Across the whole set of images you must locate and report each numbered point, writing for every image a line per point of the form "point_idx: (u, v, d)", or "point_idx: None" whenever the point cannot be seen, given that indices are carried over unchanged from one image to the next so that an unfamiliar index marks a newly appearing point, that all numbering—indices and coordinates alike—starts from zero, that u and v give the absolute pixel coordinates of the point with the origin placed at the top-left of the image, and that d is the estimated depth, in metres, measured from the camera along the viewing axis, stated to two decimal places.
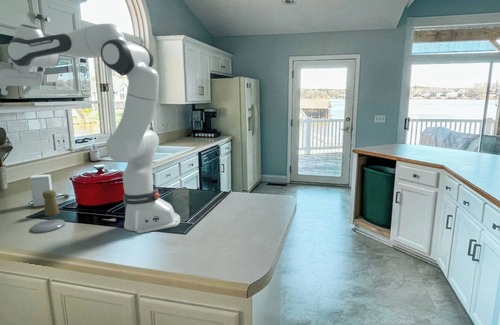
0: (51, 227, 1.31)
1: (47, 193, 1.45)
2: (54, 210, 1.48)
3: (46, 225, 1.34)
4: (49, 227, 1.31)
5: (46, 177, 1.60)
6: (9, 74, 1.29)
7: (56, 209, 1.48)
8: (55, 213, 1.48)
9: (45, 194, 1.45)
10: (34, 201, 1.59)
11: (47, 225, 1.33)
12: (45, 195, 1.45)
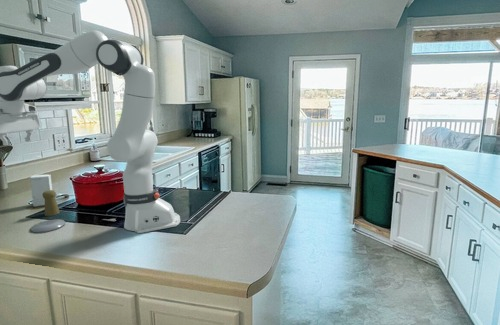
0: (51, 227, 1.31)
1: (47, 193, 1.45)
2: (54, 210, 1.48)
3: (46, 225, 1.34)
4: (49, 227, 1.31)
5: (46, 177, 1.60)
6: (3, 120, 1.23)
7: (56, 209, 1.48)
8: (55, 213, 1.48)
9: (45, 194, 1.45)
10: (34, 201, 1.59)
11: (47, 225, 1.33)
12: (45, 195, 1.45)
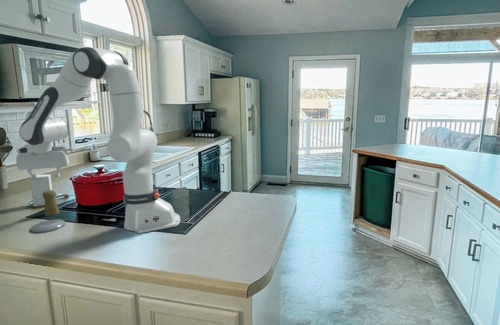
0: (51, 227, 1.31)
1: (47, 193, 1.45)
2: (54, 210, 1.48)
3: (46, 225, 1.34)
4: (49, 227, 1.31)
5: (46, 177, 1.60)
6: None
7: (56, 209, 1.48)
8: (55, 213, 1.48)
9: (45, 194, 1.45)
10: (34, 201, 1.59)
11: (47, 225, 1.33)
12: (45, 195, 1.45)
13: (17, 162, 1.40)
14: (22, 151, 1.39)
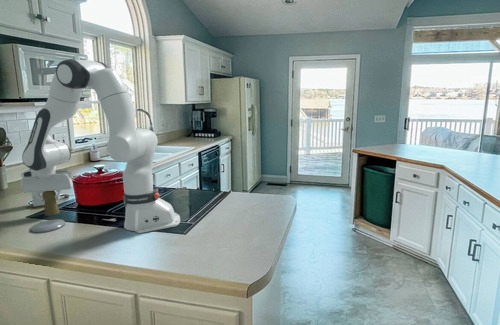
0: (51, 227, 1.31)
1: (47, 193, 1.45)
2: (54, 210, 1.48)
3: (46, 225, 1.34)
4: (49, 227, 1.31)
5: None
6: None
7: (56, 209, 1.48)
8: (55, 213, 1.48)
9: (45, 194, 1.45)
10: (34, 201, 1.59)
11: (47, 225, 1.33)
12: (45, 195, 1.45)
13: (21, 186, 1.42)
14: (26, 175, 1.41)
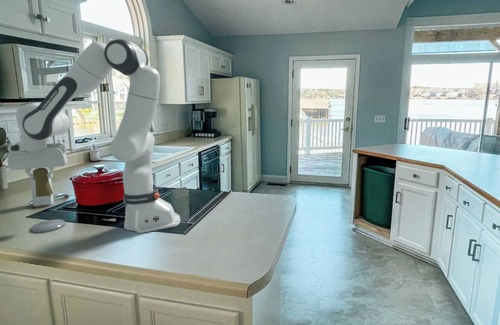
0: (51, 227, 1.31)
1: (38, 171, 1.28)
2: (46, 190, 1.30)
3: (46, 225, 1.34)
4: (49, 227, 1.31)
5: None
6: None
7: (49, 189, 1.31)
8: (47, 194, 1.30)
9: (36, 172, 1.27)
10: (34, 201, 1.59)
11: (47, 225, 1.33)
12: (36, 173, 1.27)
13: (8, 161, 1.25)
14: (14, 149, 1.23)
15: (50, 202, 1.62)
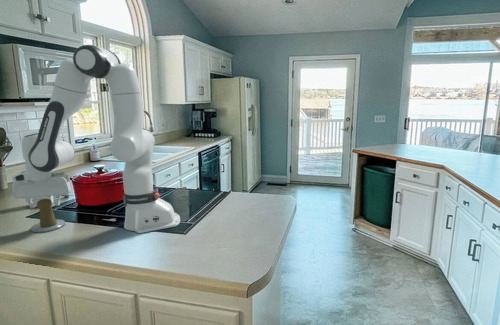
0: (51, 227, 1.31)
1: (42, 202, 1.30)
2: (50, 221, 1.32)
3: None
4: (49, 227, 1.31)
5: None
6: None
7: (53, 220, 1.33)
8: (52, 224, 1.32)
9: (40, 204, 1.29)
10: (34, 201, 1.59)
11: None
12: (40, 205, 1.29)
13: (13, 191, 1.27)
14: (18, 179, 1.25)
15: None
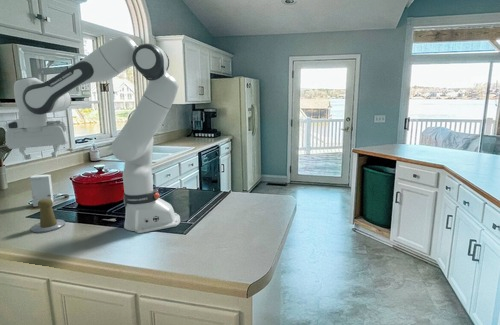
0: (51, 227, 1.31)
1: (43, 202, 1.30)
2: (51, 221, 1.32)
3: None
4: (49, 227, 1.31)
5: (46, 177, 1.60)
6: None
7: (53, 220, 1.33)
8: (52, 224, 1.32)
9: (41, 203, 1.30)
10: (34, 201, 1.59)
11: None
12: (41, 204, 1.30)
13: (7, 140, 1.19)
14: (12, 126, 1.18)
15: None
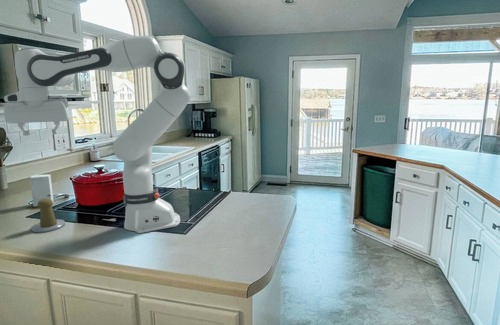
0: (51, 227, 1.31)
1: (43, 202, 1.30)
2: (51, 221, 1.32)
3: None
4: (49, 227, 1.31)
5: (46, 177, 1.60)
6: None
7: (53, 220, 1.33)
8: (52, 224, 1.32)
9: (41, 203, 1.30)
10: (34, 201, 1.59)
11: None
12: (41, 204, 1.30)
13: (5, 113, 1.13)
14: (11, 99, 1.12)
15: None
